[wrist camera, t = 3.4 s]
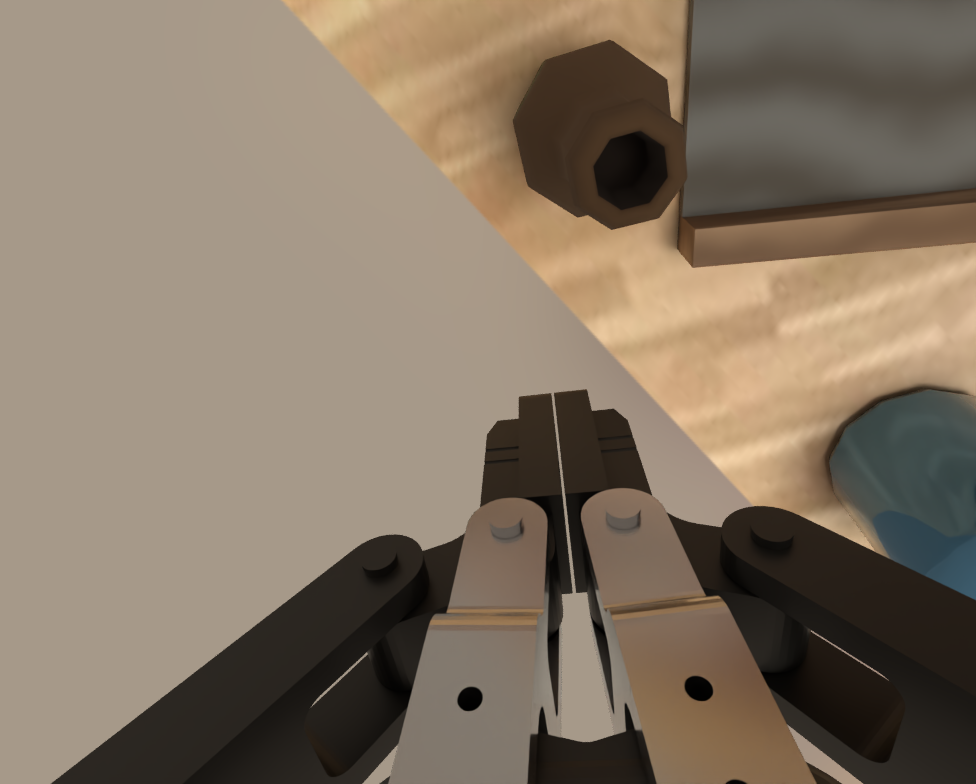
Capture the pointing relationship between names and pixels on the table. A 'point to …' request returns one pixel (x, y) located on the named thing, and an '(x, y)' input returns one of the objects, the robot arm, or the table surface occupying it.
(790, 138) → the cradle
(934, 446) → the wine bottle
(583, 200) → the beer bottle
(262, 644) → the robot arm
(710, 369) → the table surface
